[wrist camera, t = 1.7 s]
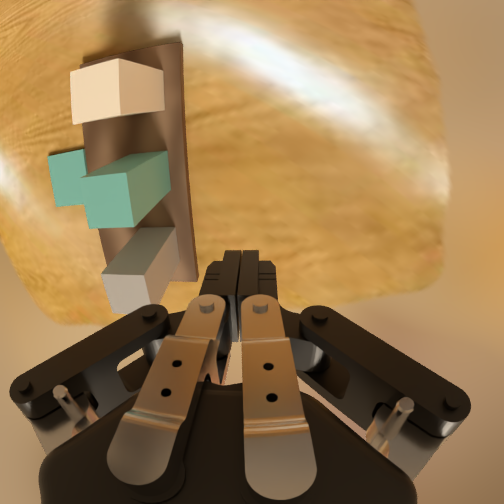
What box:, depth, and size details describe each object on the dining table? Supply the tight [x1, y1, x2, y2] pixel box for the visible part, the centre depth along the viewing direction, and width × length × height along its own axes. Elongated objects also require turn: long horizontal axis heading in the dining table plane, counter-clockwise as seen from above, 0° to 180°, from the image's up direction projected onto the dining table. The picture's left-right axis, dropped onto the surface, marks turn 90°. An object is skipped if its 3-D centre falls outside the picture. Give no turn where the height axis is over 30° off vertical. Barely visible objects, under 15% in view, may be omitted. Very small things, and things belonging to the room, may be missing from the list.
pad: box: [48, 149, 88, 207], centre depth 37 cm, size 7×8×1 cm
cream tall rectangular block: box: [70, 58, 165, 125], centre depth 25 cm, size 5×5×12 cm
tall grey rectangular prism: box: [101, 227, 180, 314], centre depth 34 cm, size 5×5×12 cm
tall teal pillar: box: [80, 151, 171, 229], centre depth 30 cm, size 5×5×12 cm
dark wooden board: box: [80, 42, 199, 282], centre depth 36 cm, size 14×32×2 cm, turn 1°
